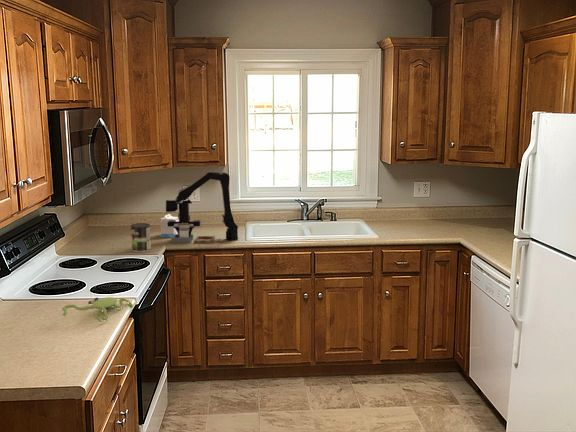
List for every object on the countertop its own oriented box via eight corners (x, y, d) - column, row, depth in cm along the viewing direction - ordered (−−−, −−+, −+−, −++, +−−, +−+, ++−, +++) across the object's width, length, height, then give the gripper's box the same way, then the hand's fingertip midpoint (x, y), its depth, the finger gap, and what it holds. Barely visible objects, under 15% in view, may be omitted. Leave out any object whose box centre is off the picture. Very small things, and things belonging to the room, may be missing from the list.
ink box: (174, 238, 366) (173, 216, 363) (160, 238, 367) (159, 215, 365) (179, 235, 374) (178, 213, 372) (166, 234, 376) (165, 213, 373)
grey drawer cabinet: (193, 239, 362) (193, 233, 362) (190, 243, 352) (190, 237, 351) (174, 239, 362) (174, 234, 362) (171, 244, 352) (171, 238, 351)
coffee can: (139, 253, 331) (138, 227, 328) (128, 250, 338) (126, 225, 335) (155, 249, 339) (153, 224, 336) (143, 246, 345) (142, 222, 343)
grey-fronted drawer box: (190, 238, 360) (190, 227, 359) (188, 240, 353) (188, 229, 352) (181, 238, 360) (181, 227, 359) (179, 240, 353) (179, 229, 352)
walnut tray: (214, 239, 363) (214, 236, 363) (212, 244, 352) (212, 240, 351) (197, 239, 363) (197, 236, 363) (194, 244, 351) (194, 240, 351)
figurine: (55, 323, 229) (54, 308, 228) (98, 301, 254) (97, 288, 253) (98, 328, 223) (97, 313, 222) (137, 305, 248) (136, 292, 247)
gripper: (201, 208, 362) (202, 234, 365) (170, 208, 362) (171, 234, 365) (199, 212, 351) (200, 238, 354) (166, 212, 351) (167, 239, 354)
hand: (184, 237), depth 357 cm, fingers closed on grey-fronted drawer box, 5 cm apart
